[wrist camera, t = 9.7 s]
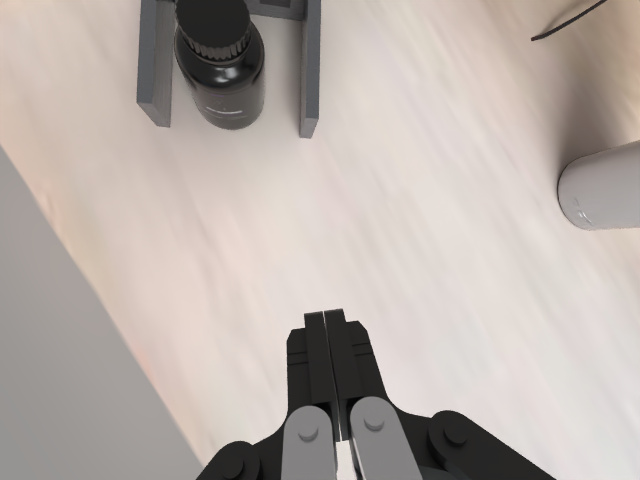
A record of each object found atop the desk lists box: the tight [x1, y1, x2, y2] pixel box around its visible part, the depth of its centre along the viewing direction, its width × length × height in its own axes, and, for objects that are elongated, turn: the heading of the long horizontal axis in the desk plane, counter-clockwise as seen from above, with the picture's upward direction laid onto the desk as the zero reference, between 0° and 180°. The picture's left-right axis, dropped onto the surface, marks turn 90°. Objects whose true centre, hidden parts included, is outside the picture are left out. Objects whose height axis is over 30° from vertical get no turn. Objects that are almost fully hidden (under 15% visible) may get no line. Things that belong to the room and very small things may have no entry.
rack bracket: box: [137, 0, 321, 138], centre depth 30 cm, size 14×15×5 cm
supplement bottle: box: [174, 0, 265, 130], centre depth 27 cm, size 7×7×12 cm
